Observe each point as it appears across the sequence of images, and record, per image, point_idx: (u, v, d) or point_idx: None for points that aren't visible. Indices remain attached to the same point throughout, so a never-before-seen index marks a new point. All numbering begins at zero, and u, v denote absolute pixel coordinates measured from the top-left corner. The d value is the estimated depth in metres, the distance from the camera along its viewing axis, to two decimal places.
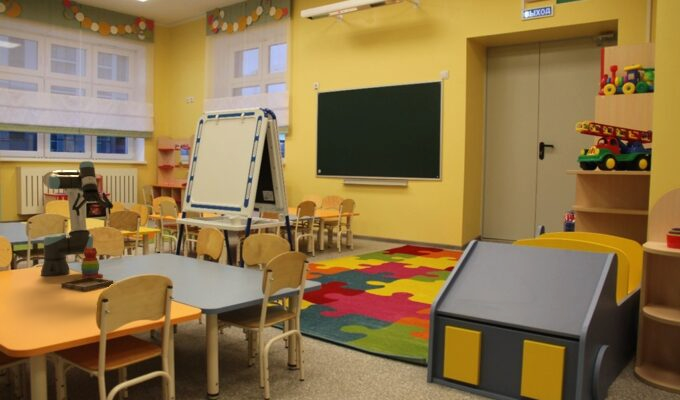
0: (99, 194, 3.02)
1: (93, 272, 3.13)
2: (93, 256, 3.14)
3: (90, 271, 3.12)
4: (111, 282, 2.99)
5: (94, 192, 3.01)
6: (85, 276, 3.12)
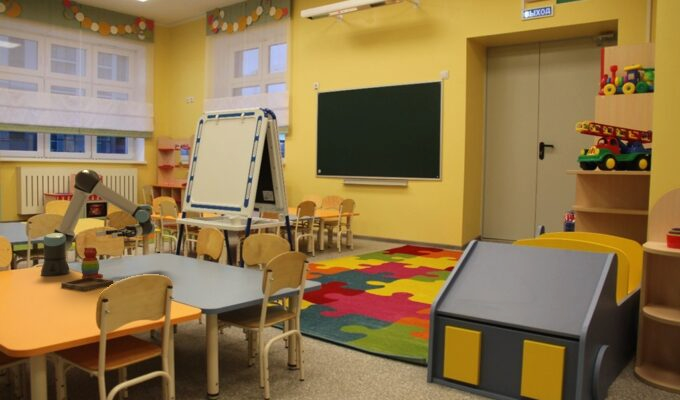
0: None
1: (93, 272, 3.13)
2: (93, 256, 3.14)
3: (90, 271, 3.12)
4: (111, 282, 2.99)
5: None
6: (85, 276, 3.12)
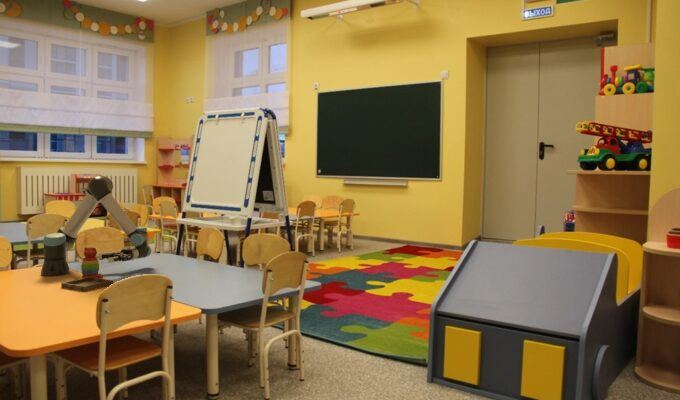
0: None
1: (93, 272, 3.13)
2: (93, 256, 3.14)
3: (90, 271, 3.12)
4: (111, 282, 2.99)
5: None
6: (85, 276, 3.12)
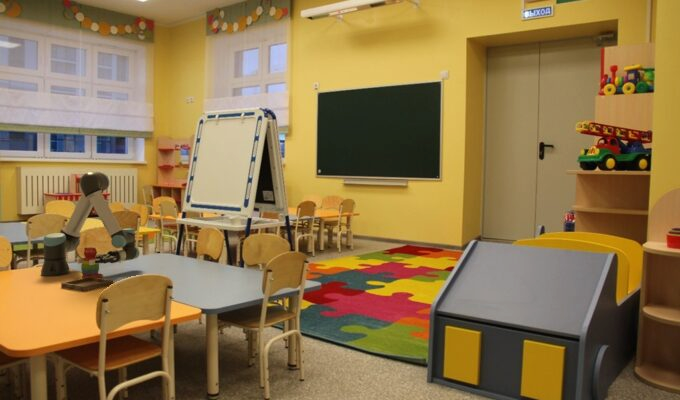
0: None
1: (93, 271, 3.13)
2: (93, 256, 3.14)
3: (90, 271, 3.12)
4: (111, 282, 2.99)
5: None
6: (85, 276, 3.12)
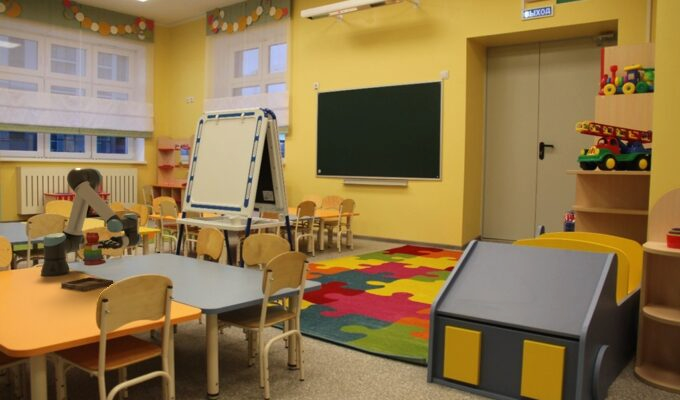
0: None
1: (96, 257, 3.03)
2: (95, 241, 3.04)
3: (93, 257, 3.02)
4: (111, 282, 2.99)
5: None
6: (87, 262, 3.02)
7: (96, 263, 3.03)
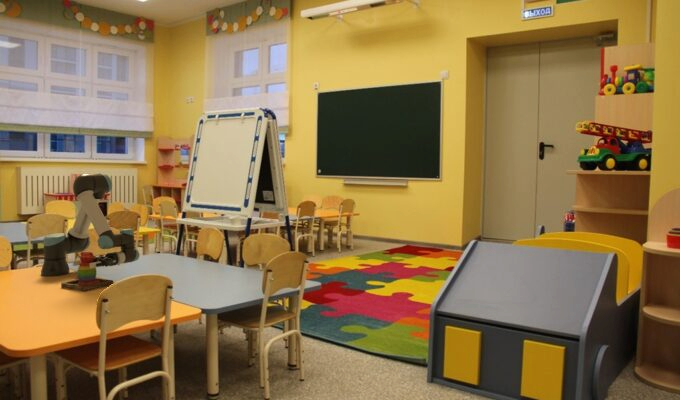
0: None
1: (90, 278, 2.93)
2: (90, 261, 2.94)
3: (87, 277, 2.92)
4: (111, 282, 2.99)
5: None
6: (81, 283, 2.92)
7: (90, 284, 2.93)
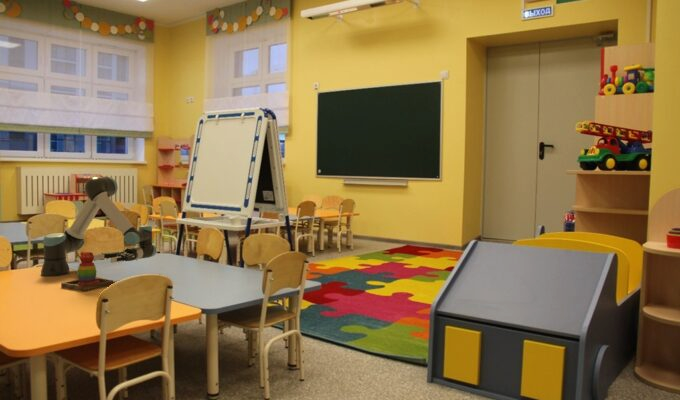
0: None
1: (90, 278, 2.93)
2: (90, 261, 2.94)
3: (87, 277, 2.92)
4: (111, 282, 2.99)
5: None
6: (81, 283, 2.92)
7: (90, 284, 2.93)
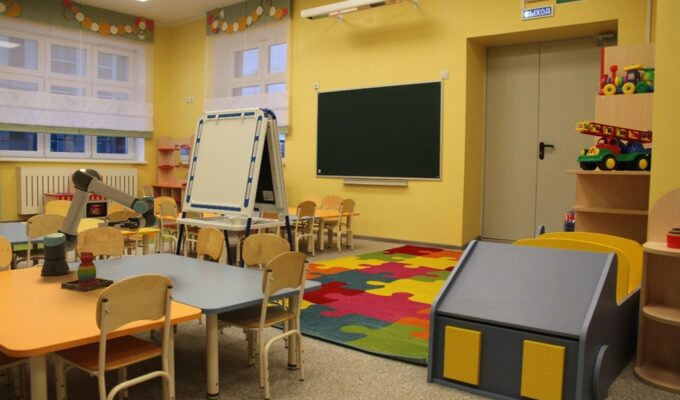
0: None
1: (90, 278, 2.93)
2: (90, 261, 2.94)
3: (87, 277, 2.92)
4: (111, 282, 2.99)
5: None
6: (81, 283, 2.92)
7: (90, 284, 2.93)
